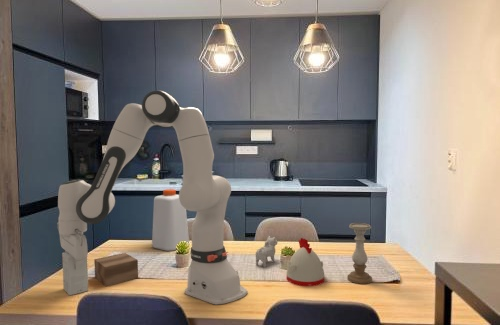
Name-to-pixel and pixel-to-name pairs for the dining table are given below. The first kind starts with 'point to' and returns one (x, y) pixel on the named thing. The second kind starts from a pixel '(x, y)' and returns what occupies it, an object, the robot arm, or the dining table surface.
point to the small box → (74, 275)
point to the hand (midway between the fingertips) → (74, 265)
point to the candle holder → (359, 255)
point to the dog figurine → (266, 251)
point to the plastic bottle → (169, 221)
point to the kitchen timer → (305, 266)
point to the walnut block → (116, 269)
